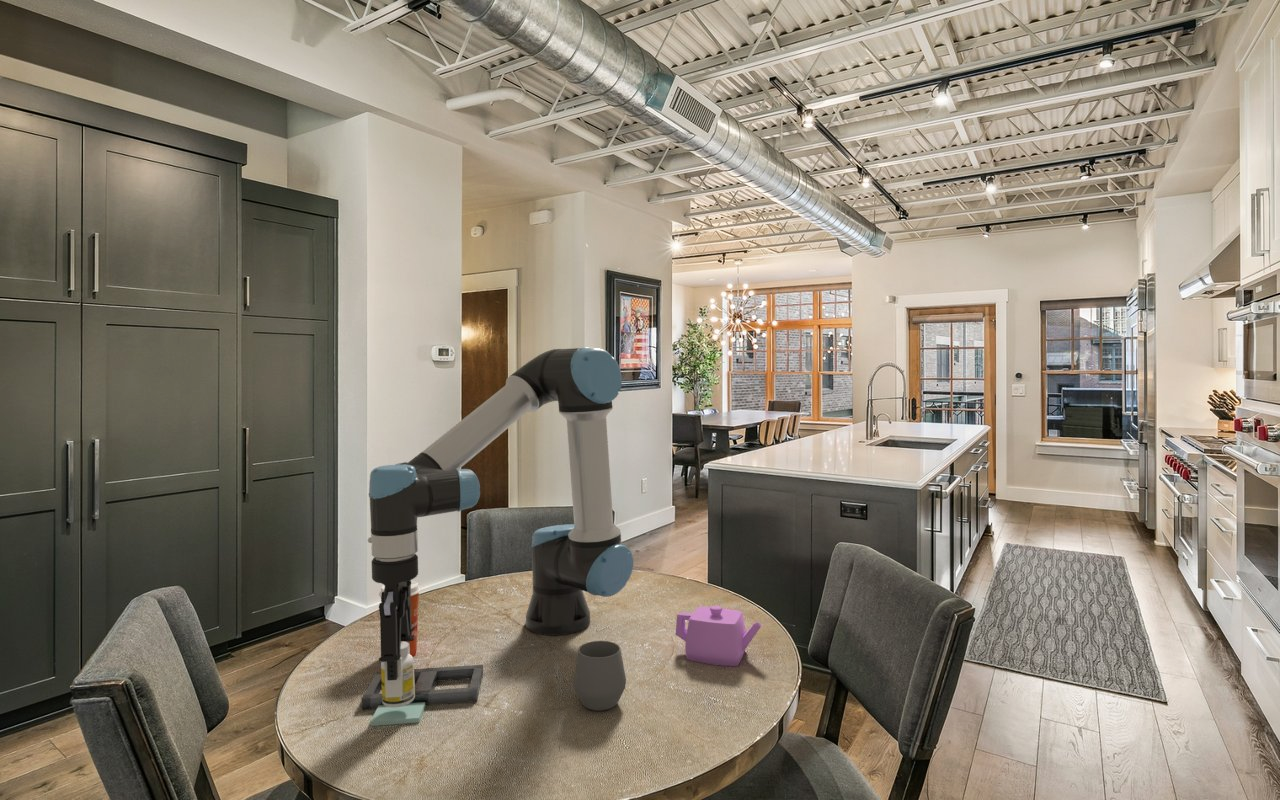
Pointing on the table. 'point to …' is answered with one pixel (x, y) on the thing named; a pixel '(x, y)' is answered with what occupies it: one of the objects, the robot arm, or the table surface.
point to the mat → (398, 714)
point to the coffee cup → (412, 614)
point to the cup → (599, 675)
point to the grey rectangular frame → (432, 686)
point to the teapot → (715, 635)
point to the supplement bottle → (407, 680)
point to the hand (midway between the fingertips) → (398, 687)
